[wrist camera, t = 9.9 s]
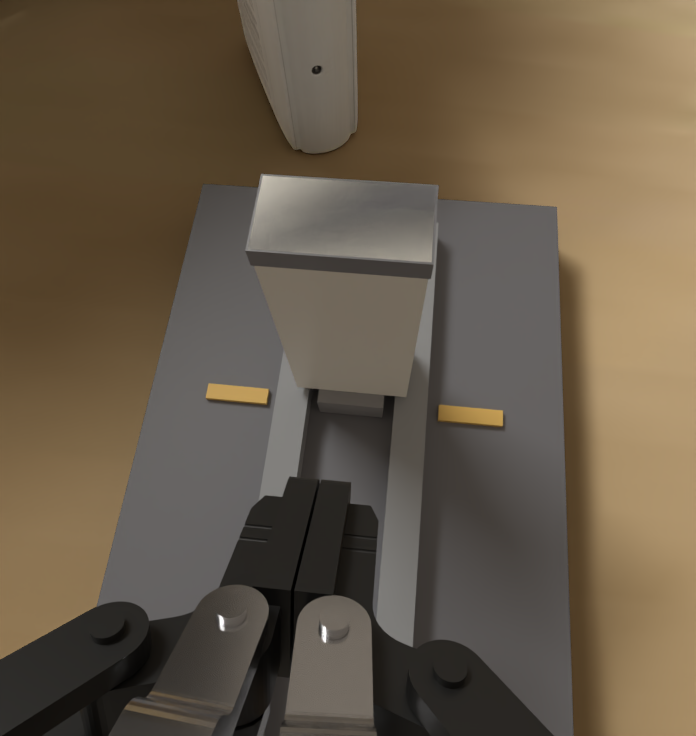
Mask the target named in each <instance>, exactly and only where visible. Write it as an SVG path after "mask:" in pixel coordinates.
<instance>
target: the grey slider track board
mask: <svg viewBox="0 0 696 736" xmlns="http://www.w3.org/2000/svg"><path fill="white" fill-rule="evenodd" d="M257 191H258V187H245V186H230V185H214V184H203V186H202V190H201V194H200V198H199V202H198V206H197V210H196V214H195V218H194V222H193V226H192V230H191V234H190V238H189V242H188V246H187V250H186V254H185V258H184V262H183V266H182V270H181V274H180V278H179V282H178V286H177V290H176V294H175V298H174V301H173V305H172V309H171V313H170V317H169V321H168V325H167V329H166V333H165V337H164V341H163V345H162V349H161V353H160V357H159V361H158V365H157V369H156V373H155V377H154V381H153V385H152V389H151V393H150V397H149V401H148V405H147V409H146V413H145V417H144V421H143V425H142V429H141V433H140V437H139V441H138V445H137V448H136V452H135V456H134V460H133V464H132V468H131V472H130V476H129V480H128V484H127V488H126V492H125V496H124V500H123V504H122V508H121V512H120V516H119V520H118V524H117V528H116V532H115V536H114V540H113V544H112V548H111V552H110V556H109V560H108V564H107V568H106V572H105V576H104V580H103V584H102V588H101V591H100V595H99V599H98V603H97V606H100V605H103V604H106V603H110V602H118V601H123V602H131V603H134V604H136V605H138V606H140V607H141V608H142V609H144V610H145V612H146V613H147V615H148V618H149V621H152V620H158V619H164V618H171V617H176V616H181V615H185V614H188V613H190V612H193V611H195V609H196V607H197V605H198V604H199V602H200V601H201V600H202V599H203V598H204V597H205V596H206V595H207V594H208V593H210V592H212V591H213V590H215V589H218V588H219V586H220V583H221V581H222V578H223V576H224V573H225V571H226V569H227V566H228V564H229V561H230V559H231V556H232V554H233V551H234V549H235V546H236V544H237V541H238V540H239V538H240V534H241V532H242V529H243V527H244V526H245V522H246V519H247V517H248V514H249V512H250V510H251V508H252V507H253V506H254V505H255V504H256V503H257V502H258V501H259V500H261V499H262V498H263V497H264V496H265V495H268V496H278V497H282V496H283V493H284V490H285V487H286V484H287V481H288V478H289V477H290V476H291V477H301V478H312V479H319V480H320V482H321V480H322V479H323V480H334V481H344V482H351V500H350V504H360V505H370V506H371V507H372V509H373V511H374V513H375V515H376V517H377V519H378V520H379V523H378V537H377V551H376V565H375V579H374V593H373V612H374V616H375V618H376V621H377V622H378V624H379V626H380V627H381V628H382V629H383V630H384V631H385V632H386V633H387V634H388V635H389V636H391V637H392V638H394V639H395V640H397V641H399V642H401V643H404V644H406V645H408V646H411V647H413V648H415V649H417V648H418V647H419V646H421V645H422V644H424V643H426V642H429V641H433V640H450V641H455V642H457V643H460V644H462V645H464V646H466V647H468V648H469V649H471V650H472V651H474V652H475V653H476V654H477V655H478V656H479V657H480V658H481V659H482V660H483V661H484V662H485V663H486V665H487V666H488V667H489V668H490V669H491V670H492V671H493V672H494V673H495V674H496V675H497V676H498V677H499V678H500V679H501V680H502V681H503V682H504V684H505V685H506V686H507V687H508V688H509V689H510V690H511V691H512V692H513V693H514V694H515V695H516V696H517V697H518V698H519V699H520V700H521V701H522V703H523V704H524V705H525V706H526V707H527V708H528V709H529V710H530V711H531V712H532V713H533V714H534V715H535V716H536V717H537V718H538V719H539V720H540V722H541V723H542V724H543V725H544V726H545V727H546V728H547V729H548V730H549V731H550V732H551V733H552V734H553V735H554V736H574V734H573V702H572V670H571V638H570V607H569V575H568V543H567V511H566V480H565V448H564V416H563V385H562V353H561V321H560V289H559V258H558V226H557V207H551V206H536V205H520V204H505V203H490V202H475V201H459V200H444V199H438V204H437V220H436V236H435V252H434V266H433V271H432V276H431V279H428V284H427V289H426V294H425V300H424V305H423V310H422V316H421V321H420V326H419V332H418V337H417V342H416V348H415V353H414V358H413V364H412V369H411V374H410V380H409V385H408V390H407V396H406V397H399V396H388V395H384V405H383V416H382V418H380V417H370V416H359V415H349V414H338V413H328V412H320V410H319V407H318V403H317V400H318V393H319V389H312V388H301V387H297V384H296V382H295V379H294V376H293V373H292V371H291V368H290V365H289V362H288V359H287V357H286V354H285V351H284V348H283V346H282V343H281V340H280V337H279V334H278V332H277V329H276V326H275V323H274V320H273V318H272V315H271V312H270V309H269V307H268V304H267V301H266V298H265V295H264V293H263V290H262V287H261V284H260V282H259V279H258V276H257V273H256V270H255V268H254V266H251V265H250V263H249V260H248V257H247V254H246V252H245V249H246V244H247V239H248V234H249V230H250V225H251V220H252V215H253V210H254V205H255V201H256V196H257ZM289 681H290V678H286V677H277V679H276V683H275V687H274V691H273V696H272V699H271V702H270V713H269V718H268V721H267V724H266V727H265V730H264V734H263V736H279V734H280V728H281V724H282V722H284V718H285V712H286V704H287V696H288V689H289Z"/></svg>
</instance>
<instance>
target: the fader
mask: <svg viewBox="0 0 696 736" xmlns="http://www.w3.org/2000/svg"><path fill="white" fill-rule="evenodd" d="M438 188H439V185H429V184H414V183H398V182H382V181H366V180H351V179H335V178H319V177H303V176H288V175H272V174H261V176H260V181H259V186H258V191H257V196H256V201H255V205H254V210H253V215H252V220H251V225H250V230H249V234H248V239H247V244H246V249H245V252H246V254H247V257H248V260H249V263H250V265H251V266H254V268H255V270H256V273H257V276H258V279H259V282H260V284H261V287H262V290H263V293H264V295H265V298H266V301H267V304H268V307H269V309H270V312H271V315H272V318H273V320H274V323H275V326H276V329H277V332H278V334H279V337H280V340H281V343H282V346H283V348H284V351H285V354H286V357H287V359H288V362H289V365H290V368H291V371H292V373H293V376H294V379H295V382H296V384H297V387H301V388H312V389H319V393H318V400H317V403H318V407H319V410H320V412H328V413H338V414H349V415H359V416H370V417H380V418H382V416H383V405H384V395H388V396H399V397H406V396H407V390H408V385H409V380H410V374H411V369H412V364H413V358H414V353H415V348H416V342H417V337H418V332H419V326H420V321H421V316H422V310H423V305H424V300H425V294H426V289H427V284H428V279H431V276H432V271H433V266H434V252H435V236H436V220H437V204H438Z"/></svg>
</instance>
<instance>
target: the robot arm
mask: <svg viewBox="0 0 696 736" xmlns="http://www.w3.org/2000/svg"><path fill="white" fill-rule="evenodd" d="M350 500H351V482H344V481H334V480H323V479H322V480H321V482H320V480H319V479H312V478H301V477H291V476H290V477H289V478H288V481H287V484H286V487H285V490H284V493H283V496H282V497H278V496H268V495H265V496H264V497H263V498H262V499H261V500H259V501H258V502H257V503H256V504H255V505H254V506H253V507H252V508H251V510H250V512H249V514H248V517H247V519H246V522H245V526H244V527H243V529H242V532H241V534H240V538H239V540H238V541H237V544H236V546H235V549H234V551H233V554H232V556H231V559H230V561H229V564H228V566H227V569H226V571H225V573H224V576H223V578H222V581H221V583H220V586H219V588H218V589H215V590H213V591H212V592H210V593H208V594H207V595H206V596H205V597H204V598H203V599H202V600H201V601H200V602H199V604H198V605H197V607H196V609H195V611H193V612H190V613H188V614H185V615H181V616H176V617H171V618H164V619H158V620H152V621H149V618H148V615H147V613H146V612H145V610H144V609H142V608H141V607H140V606H138V605H136V604H134V603H131V602H123V601H118V602H110V603H106V604H103V605H100V606H97V607H95V608H93V609H91V610H89V611H87V612H86V613H84V614H82V615H80V616H78V617H77V618H75V619H73V620H71V621H69V622H68V623H66V624H64V625H62V626H60V627H59V628H57V629H55V630H53V631H51V632H50V633H48V634H46V635H44V636H42V637H40V638H39V639H37V640H35V641H33V642H31V643H30V644H28V645H26V646H24V647H22V648H21V649H19V650H17V651H15V652H13V653H12V654H10V655H8V656H6V657H4V658H3V659H1V660H0V736H263V734H264V730H265V727H266V724H267V721H268V718H269V713H270V702H271V699H272V696H273V691H274V687H275V683H276V679H277V677H286V678H290V681H289V689H288V696H287V704H286V712H285V718H284V722H282V724H281V728H280V734H279V736H554V735H553V734H552V733H551V732H550V731H549V730H548V729H547V728H546V727H545V726H544V725H543V724H542V723H541V722H540V720H539V719H538V718H537V717H536V716H535V715H534V714H533V713H532V712H531V711H530V710H529V709H528V708H527V707H526V706H525V705H524V704H523V703H522V701H521V700H520V699H519V698H518V697H517V696H516V695H515V694H514V693H513V692H512V691H511V690H510V689H509V688H508V687H507V686H506V685H505V684H504V682H503V681H502V680H501V679H500V678H499V677H498V676H497V675H496V674H495V673H494V672H493V671H492V670H491V669H490V668H489V667H488V666H487V665H486V663H485V662H484V661H483V660H482V659H481V658H480V657H479V656H478V655H477V654H476V653H475V652H474V651H472V650H471V649H469V648H468V647H466V646H464V645H462V644H460V643H457V642H455V641H450V640H433V641H429V642H426V643H424V644H422V645H421V646H419V647H418V648H417V649H415V648H413V647H411V646H408V645H406V644H404V643H401V642H399V641H397V640H395V639H394V638H392V637H391V636H389V635H388V634H387V633H386V632H385V631H384V630H383V629H382V628H381V627H380V626H379V624H378V622H377V621H376V618H375V616H374V612H373V593H374V579H375V565H376V551H377V537H378V523H379V520H378V519H377V517H376V515H375V513H374V511H373V509H372V507H371V506H370V505H360V504H350Z"/></svg>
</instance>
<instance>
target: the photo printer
mask: <svg viewBox="0 0 696 736" xmlns="http://www.w3.org/2000/svg"><path fill="white" fill-rule="evenodd" d="M237 2H238V7H239V12H240V16H241V21H242V26H243V31H244V36H245V39H246V42H247V45H248V48H249V51H250V54H251V57H252V59H253V62H254V65H255V68H256V70H257V73H258V75H259V78H260V80H261V83H262V85H263V88H264V90H265V93H266V95H267V97H268V100H269V102H270V105H271V107H272V109H273V112H274V114H275V116H276V119H277V121H278V123H279V125H280V127H281V129H282V131H283V133H284V135H285V137H286V139H287V141H288V142H289V144H290V145H291V146H292V148H293V149H294V150H298V149H301V150H302V151H303V152H305V153H312V154H317V153H325V152H329V151H332V150H334V149H337V148H338V147H340V146H342V145H343V144H344V143H345V142H346V141H347V140H348V139H349V137H350V134H352V133H355V132H356V130H357V123H358V83H357V24H356V0H237Z"/></svg>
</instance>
